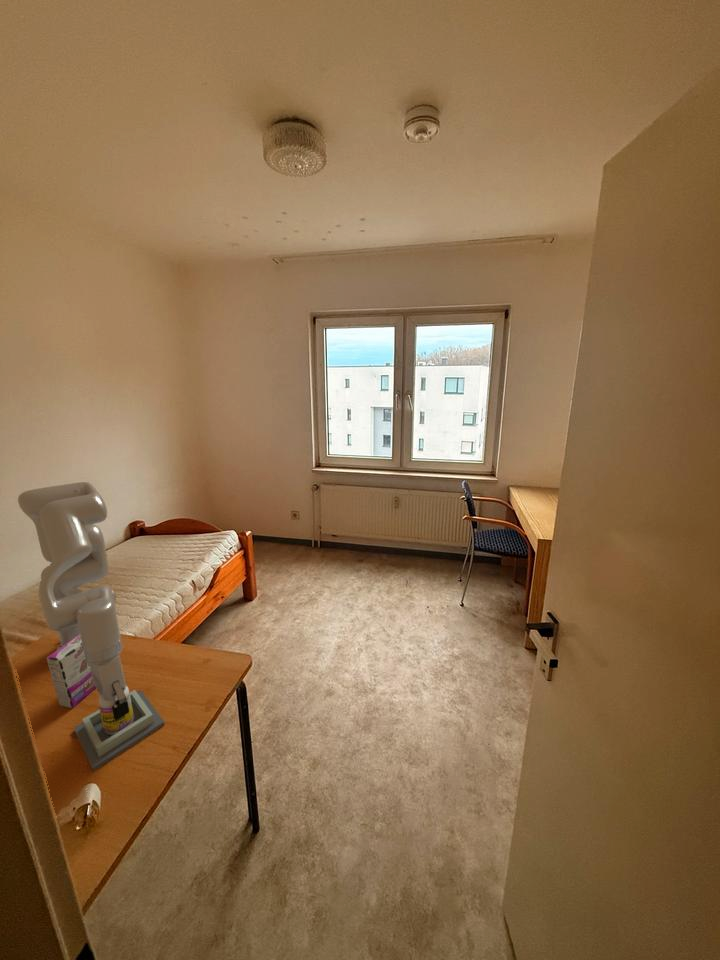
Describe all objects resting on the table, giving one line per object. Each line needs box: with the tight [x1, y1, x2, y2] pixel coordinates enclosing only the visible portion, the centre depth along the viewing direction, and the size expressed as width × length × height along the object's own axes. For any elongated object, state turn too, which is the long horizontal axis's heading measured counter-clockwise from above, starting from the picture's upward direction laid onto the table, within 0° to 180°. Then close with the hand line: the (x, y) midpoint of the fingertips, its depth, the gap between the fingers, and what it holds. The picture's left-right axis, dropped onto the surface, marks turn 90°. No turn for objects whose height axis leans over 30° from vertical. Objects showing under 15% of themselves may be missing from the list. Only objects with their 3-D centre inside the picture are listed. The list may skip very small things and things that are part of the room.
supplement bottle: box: [97, 685, 134, 735], centre depth 95 cm, size 7×7×13 cm
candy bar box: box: [45, 634, 96, 709], centre depth 106 cm, size 11×5×16 cm, turn 168°
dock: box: [73, 689, 165, 772], centre depth 96 cm, size 16×16×4 cm
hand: (115, 704), depth 95 cm, fingers open, 9 cm apart
